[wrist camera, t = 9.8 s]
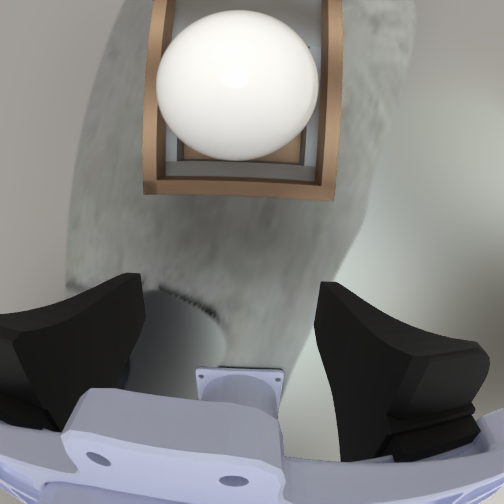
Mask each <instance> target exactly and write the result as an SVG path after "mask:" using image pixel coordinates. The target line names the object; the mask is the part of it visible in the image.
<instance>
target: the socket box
mask: <svg viewBox="0 0 504 504" xmlns="http://www.w3.org/2000/svg"><path fill="white" fill-rule="evenodd" d="M228 10H249V11H255V12H260V13H264V14H267V15H269V16H272V17H274V18H276V19H278V20H280V21H282V22H283V23H285V24H287V25H288V26H289V27H291V28H292V29H293V30H294V31H295V32H296V33H297V34H298V35H299V36H300V37H301V38H302V39H303V41H304V42H305V43H306V45H307V46H308V48H309V50H310V51H311V53H312V55H313V58H314V60H315V63H316V67H317V71H318V78H319V91H318V98H317V103H316V106H315V109H314V112H313V114H312V116H311V118H310V120H309V122H308V123H307V125H306V126H305V128H304V129H303V130H302V131H301V132H300V134H299V135H298V136H297V137H296V138H295V139H293V140H292V141H291V142H290V143H289V144H287V145H286V146H284V147H283V148H281V149H279V150H278V151H276V152H274V153H271V154H269V155H266V156H264V157H260V158H256V159H251V160H244V161H229V160H221V159H216V158H212V157H209V156H206V155H203V154H201V153H199V152H197V151H195V150H193V149H192V148H190V147H188V146H187V145H186V144H184V143H183V142H182V141H181V140H180V139H179V138H178V137H177V136H176V135H175V134H174V133H173V132H172V131H171V129H170V128H169V127H168V125H167V124H166V122H165V120H164V118H163V116H162V114H161V112H160V109H159V105H158V101H157V96H156V77H157V71H158V67H159V64H160V61H161V59H162V56H163V54H164V52H165V51H166V49H167V47H168V46H169V44H170V43H171V42H172V40H173V39H174V38H175V37H176V36H177V35H178V34H179V33H180V32H181V31H182V30H183V29H185V28H186V27H187V26H189V25H190V24H192V23H193V22H195V21H197V20H199V19H201V18H203V17H205V16H208V15H210V14H213V13H217V12H222V11H228ZM342 64H343V27H342V0H154V4H153V11H152V18H151V26H150V34H149V43H148V52H147V63H146V76H145V92H144V113H143V195H222V196H250V197H271V198H290V199H305V200H320V201H333V202H334V196H335V186H336V175H337V164H338V151H339V137H340V120H341V100H342Z"/></svg>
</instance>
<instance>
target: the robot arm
mask: <svg viewBox="0 0 504 504" xmlns="http://www.w3.org/2000/svg"><path fill="white" fill-rule="evenodd" d="M145 318H146V314H145V307H144V299H143V292H142V284H141V275H140V274H139V273H124V274H121V275H119V276H116V277H114V278H112V279H110V280H108V281H106V282H104V283H102V284H100V285H98V286H96V287H93V288H91V289H89V290H87V291H85V292H83V293H80V294H78V295H76V296H74V297H71V298H69V299H66V300H64V301H61V302H58V303H55V304H52V305H48V306H45V307H41V308H36V309H32V310H28V311H23V312H17V313H9V314H0V488H2V489H3V490H4V491H6V492H8V493H9V494H11V495H12V496H14V497H15V498H17V499H18V500H20V501H22V502H23V503H25V504H479V503H481V502H483V501H485V500H486V499H488V498H490V497H491V496H493V495H494V494H495V493H496V492H497V491H499V490H500V489H501V488H502V487H503V486H504V408H501V409H499V410H496V411H494V412H491V413H489V414H486V415H484V416H482V417H480V418H479V419H478V420H477V421H475V420H474V418H473V416H472V415H471V414H473V413H474V412H475V407H474V406H473V404H472V400H473V399H474V397H475V396H476V394H477V392H478V391H479V389H480V387H481V386H482V384H483V382H484V380H485V378H486V376H487V374H488V370H489V366H490V360H489V356H488V355H487V353H486V352H485V351H484V350H483V349H482V347H481V346H480V345H479V344H478V343H477V342H474V341H467V340H461V339H454V338H449V337H445V336H441V335H437V334H434V333H430V332H427V331H424V330H421V329H419V328H416V327H413V326H410V325H408V324H406V323H403V322H401V321H399V320H397V319H395V318H393V317H391V316H389V315H387V314H385V313H384V312H382V311H380V310H378V309H377V308H375V307H374V306H372V305H370V304H369V303H367V302H366V301H364V300H363V299H361V298H360V297H358V296H357V295H356V294H354V293H353V292H351V291H350V290H348V289H347V288H345V287H344V286H342V285H341V284H339V283H337V282H321V284H320V290H319V297H318V303H317V309H316V315H315V321H314V329H315V336H316V341H317V346H318V349H319V352H320V356H321V359H322V362H323V365H324V368H325V371H326V374H327V378H328V381H329V384H330V387H331V391H332V395H333V401H334V407H335V413H336V420H337V428H338V436H339V446H340V457H341V462H333V461H321V460H311V459H301V458H294V457H286V456H284V448H283V436H282V432H281V429H280V425H279V422H278V410H279V404H280V398H281V392H282V386H283V379H284V372H283V371H282V370H268V369H236V368H217V367H203V366H200V367H197V368H196V382H197V392H198V400H192V399H182V398H174V397H165V396H158V395H151V394H144V393H138V392H132V391H126V390H121V389H115V388H116V385H117V382H118V380H119V377H120V375H121V373H122V371H123V369H124V367H125V364H126V362H127V360H128V358H129V356H130V354H131V352H132V350H133V348H134V346H135V344H136V342H137V340H138V338H139V336H140V333H141V331H142V328H143V324H144V321H145ZM201 375H203V376H201ZM276 378H279V379H276Z"/></svg>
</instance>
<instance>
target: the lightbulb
mask: <svg viewBox="0 0 504 504" xmlns="http://www.w3.org/2000/svg"><path fill="white" fill-rule="evenodd" d="M318 91H319V78H318V71H317V67H316V63H315V60H314V58H313V55H312V53H311V51H310V50H309V48H308V46H307V45H306V43H305V42H304V41H303V39H302V38H301V37H300V36H299V35H298V34H297V33H296V32H295V31H294V30H293V29H292V28H291V27H289V26H288V25H287V24H285V23H283V22H282V21H280V20H278V19H276V18H274V17H272V16H269V15H267V14H264V13H260V12H255V11H249V10H228V11H222V12H217V13H213V14H210V15H208V16H205V17H203V18H201V19H199V20H197V21H195V22H193V23H192V24H190V25H189V26H187V27H186V28H185V29H183V30H182V31H181V32H180V33H179V34H178V35H177V36H176V37H175V38H174V39H173V40H172V42H171V43H170V44H169V46H168V47H167V49H166V51H165V52H164V54H163V56H162V59H161V61H160V64H159V67H158V71H157V77H156V96H157V101H158V105H159V109H160V112H161V114H162V116H163V118H164V120H165V122H166V124H167V125H168V127H169V128H170V129H171V131H172V132H173V133H174V134H175V135H176V136H177V137H178V138H179V139H180V140H181V141H182V142H183V143H184V144H186V145H187V146H188V147H190V148H192V149H193V150H195V151H197V152H199V153H201V154H203V155H206V156H209V157H212V158H216V159H221V160H229V161H244V160H251V159H256V158H260V157H264V156H266V155H269V154H271V153H274V152H276V151H278V150H279V149H281V148H283V147H284V146H286V145H287V144H289V143H290V142H291V141H292V140H293V139H295V138H296V137H297V136H298V135H299V134H300V132H301V131H302V130H303V129H304V128H305V126H306V125H307V123H308V122H309V120H310V118H311V116H312V114H313V112H314V109H315V106H316V103H317V98H318Z"/></svg>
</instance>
